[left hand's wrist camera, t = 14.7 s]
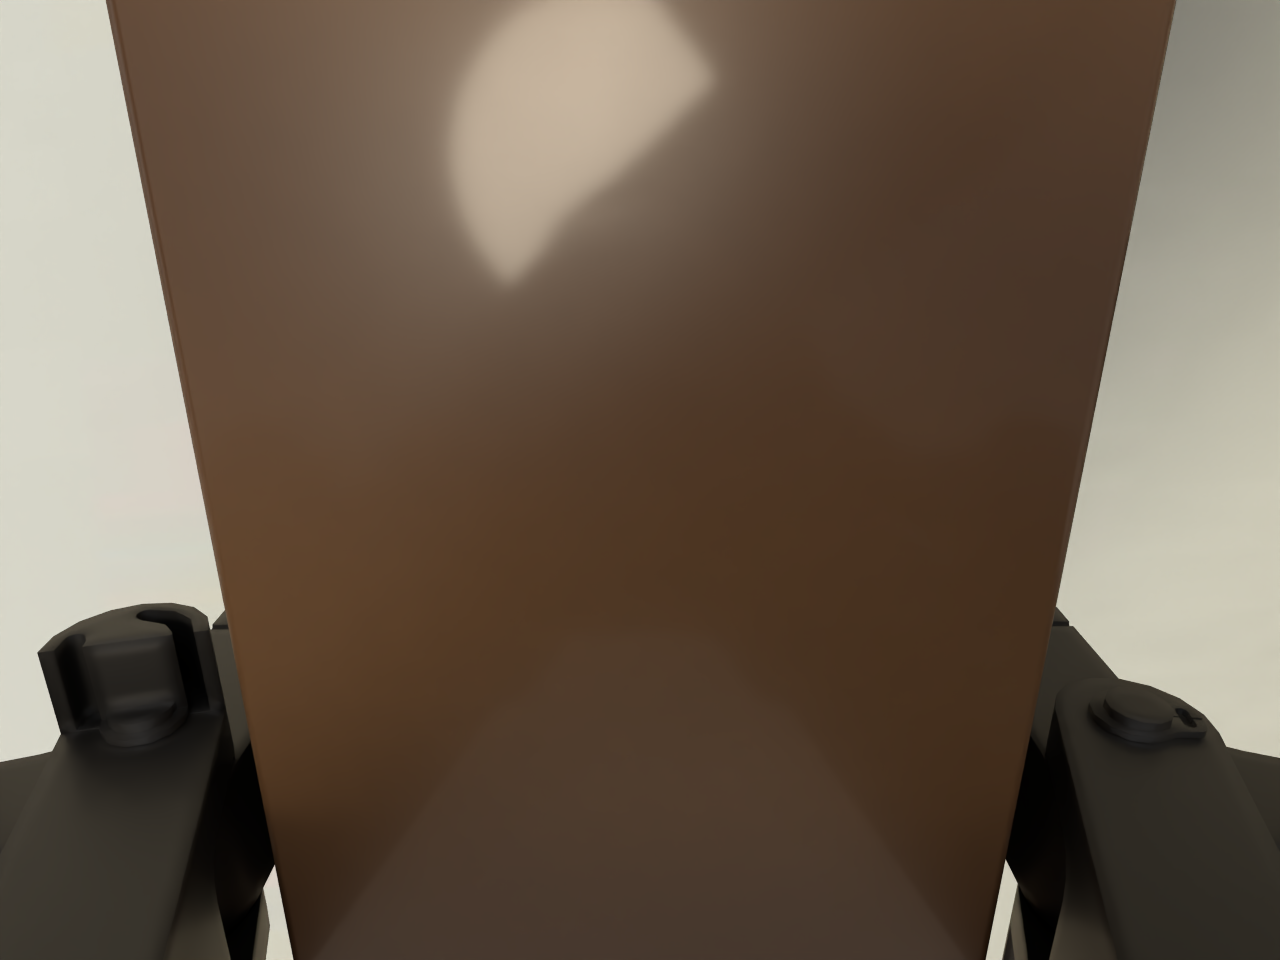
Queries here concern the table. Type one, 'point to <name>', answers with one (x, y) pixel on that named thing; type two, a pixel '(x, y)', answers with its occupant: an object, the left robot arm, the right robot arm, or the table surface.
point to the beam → (640, 445)
